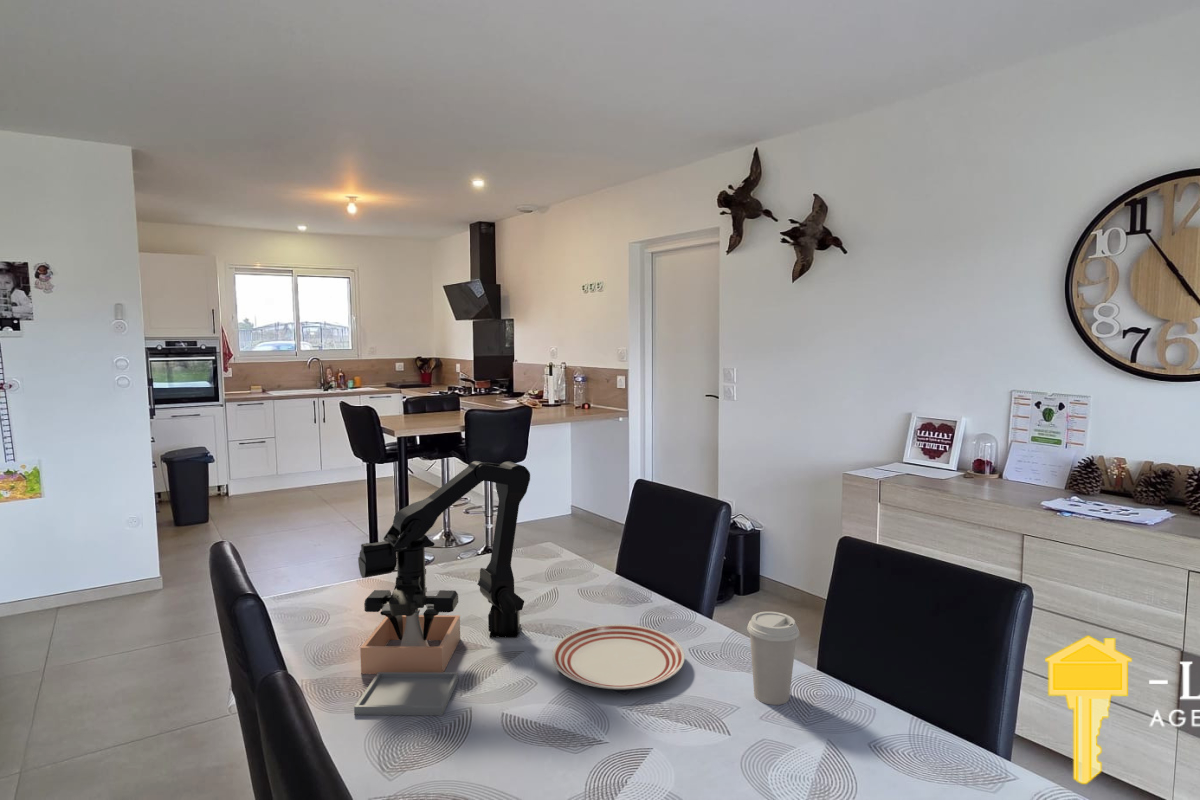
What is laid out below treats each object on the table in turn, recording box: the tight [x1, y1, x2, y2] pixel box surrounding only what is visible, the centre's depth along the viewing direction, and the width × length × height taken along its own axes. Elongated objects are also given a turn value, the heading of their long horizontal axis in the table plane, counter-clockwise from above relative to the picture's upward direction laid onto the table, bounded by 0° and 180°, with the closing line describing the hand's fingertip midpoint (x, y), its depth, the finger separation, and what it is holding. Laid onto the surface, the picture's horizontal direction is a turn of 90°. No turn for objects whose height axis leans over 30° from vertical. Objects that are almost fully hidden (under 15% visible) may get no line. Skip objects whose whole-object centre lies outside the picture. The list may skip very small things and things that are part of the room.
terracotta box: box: [359, 614, 461, 675], centre depth 147 cm, size 17×17×6 cm
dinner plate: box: [551, 623, 686, 690], centre depth 143 cm, size 27×27×3 cm
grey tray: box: [353, 672, 459, 716], centre depth 131 cm, size 16×13×2 cm
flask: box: [399, 608, 430, 646], centre depth 147 cm, size 7×7×10 cm
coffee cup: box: [746, 611, 800, 706], centre depth 130 cm, size 10×10×15 cm
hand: (413, 639), depth 147 cm, fingers closed on flask, 5 cm apart
